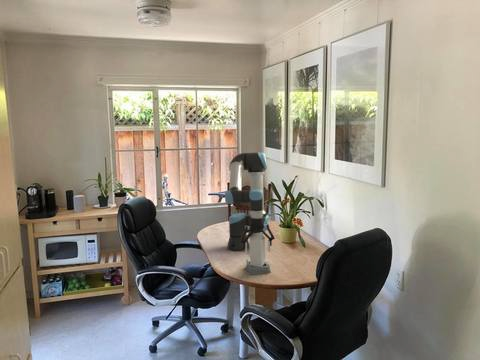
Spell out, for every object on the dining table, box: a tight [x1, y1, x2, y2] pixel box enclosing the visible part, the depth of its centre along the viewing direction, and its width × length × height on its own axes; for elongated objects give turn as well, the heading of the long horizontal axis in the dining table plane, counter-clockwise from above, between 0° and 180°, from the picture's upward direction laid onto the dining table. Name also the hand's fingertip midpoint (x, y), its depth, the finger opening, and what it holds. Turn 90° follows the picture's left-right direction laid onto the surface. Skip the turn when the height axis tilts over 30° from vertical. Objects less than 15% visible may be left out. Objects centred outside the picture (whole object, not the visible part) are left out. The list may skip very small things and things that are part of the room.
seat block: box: [245, 258, 272, 276], centre depth 223 cm, size 12×12×5 cm
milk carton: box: [248, 232, 267, 267], centre depth 221 cm, size 7×7×19 cm
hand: (257, 252), depth 222 cm, fingers open, 13 cm apart
